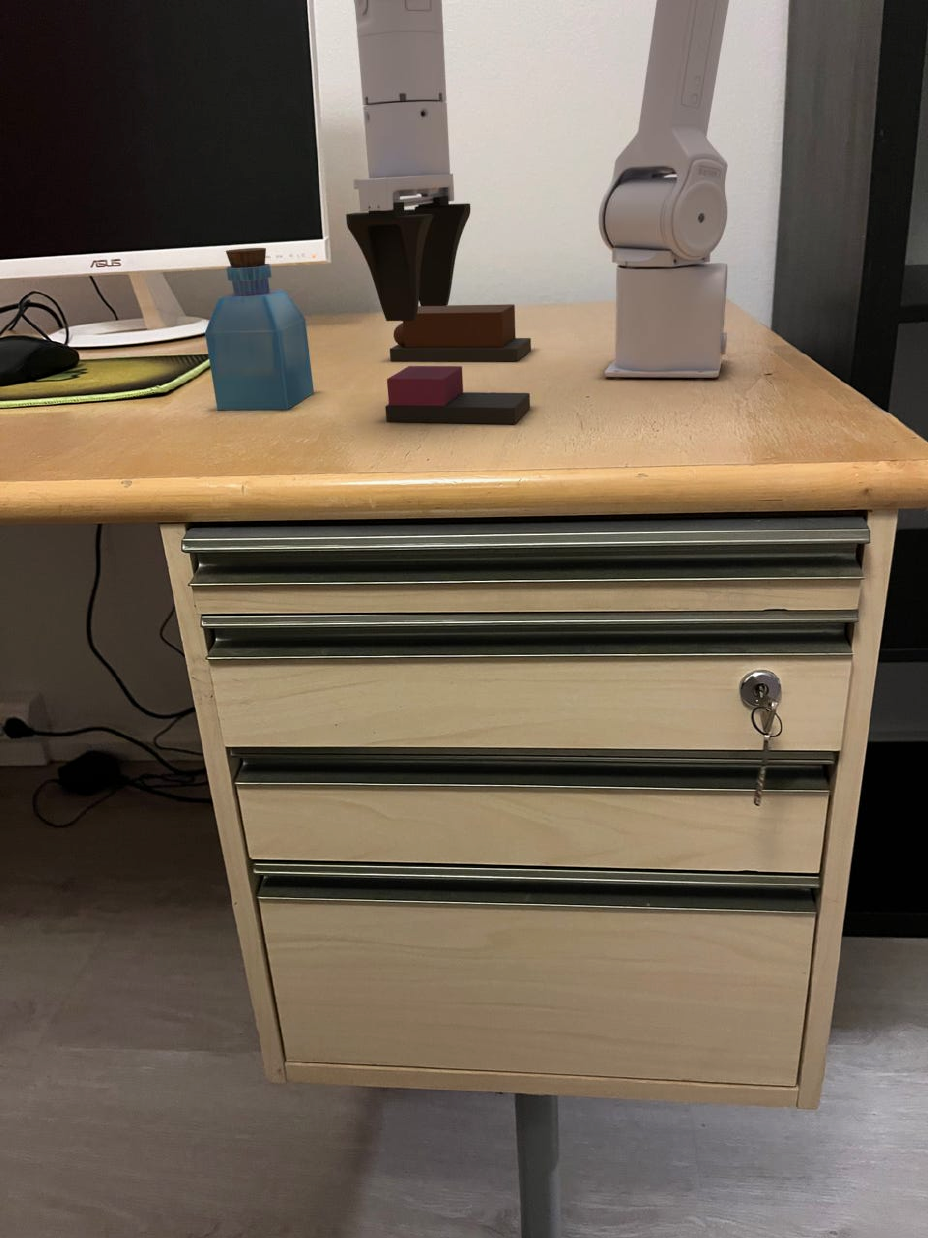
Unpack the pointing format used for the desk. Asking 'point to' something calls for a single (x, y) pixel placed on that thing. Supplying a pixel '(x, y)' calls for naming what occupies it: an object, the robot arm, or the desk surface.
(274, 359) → the perfume bottle
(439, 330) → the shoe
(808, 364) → the desk surface
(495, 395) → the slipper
